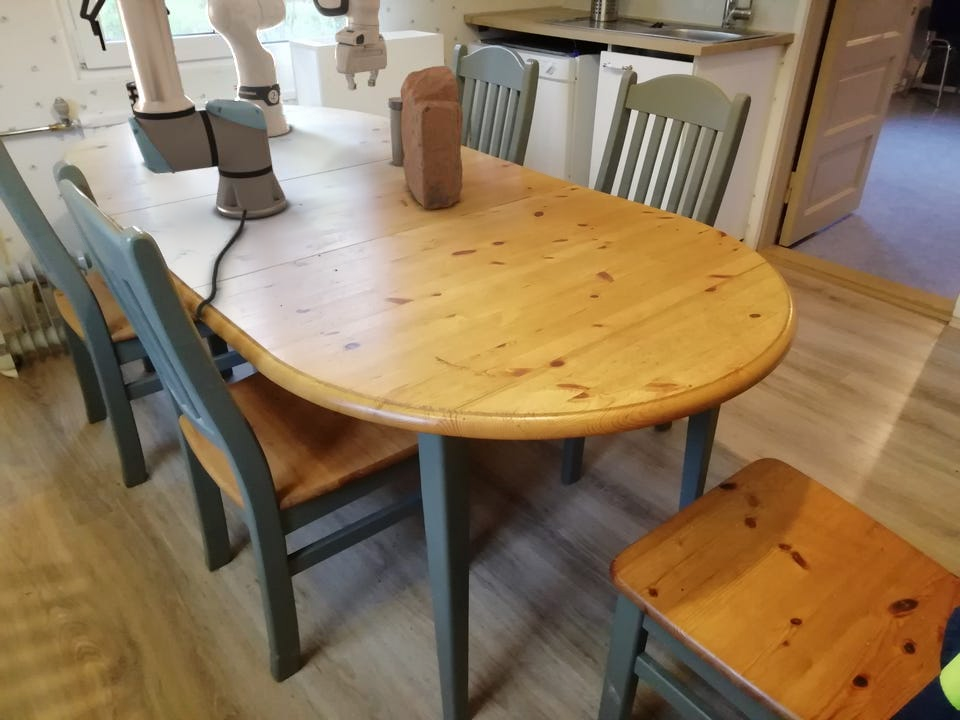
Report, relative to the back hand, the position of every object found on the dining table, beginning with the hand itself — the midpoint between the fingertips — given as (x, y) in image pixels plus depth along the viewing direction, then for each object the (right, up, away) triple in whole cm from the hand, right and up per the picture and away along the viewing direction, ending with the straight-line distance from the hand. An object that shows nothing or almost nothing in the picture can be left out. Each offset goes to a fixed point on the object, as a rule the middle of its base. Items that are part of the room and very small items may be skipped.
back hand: (362, 88), depth 196 cm
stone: (+22, -37, -29) cm, 53 cm away
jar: (+12, -24, -8) cm, 28 cm away
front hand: (-54, +1, -23) cm, 58 cm away
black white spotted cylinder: (-52, -15, -15) cm, 57 cm away
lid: (+13, -10, -17) cm, 23 cm away
